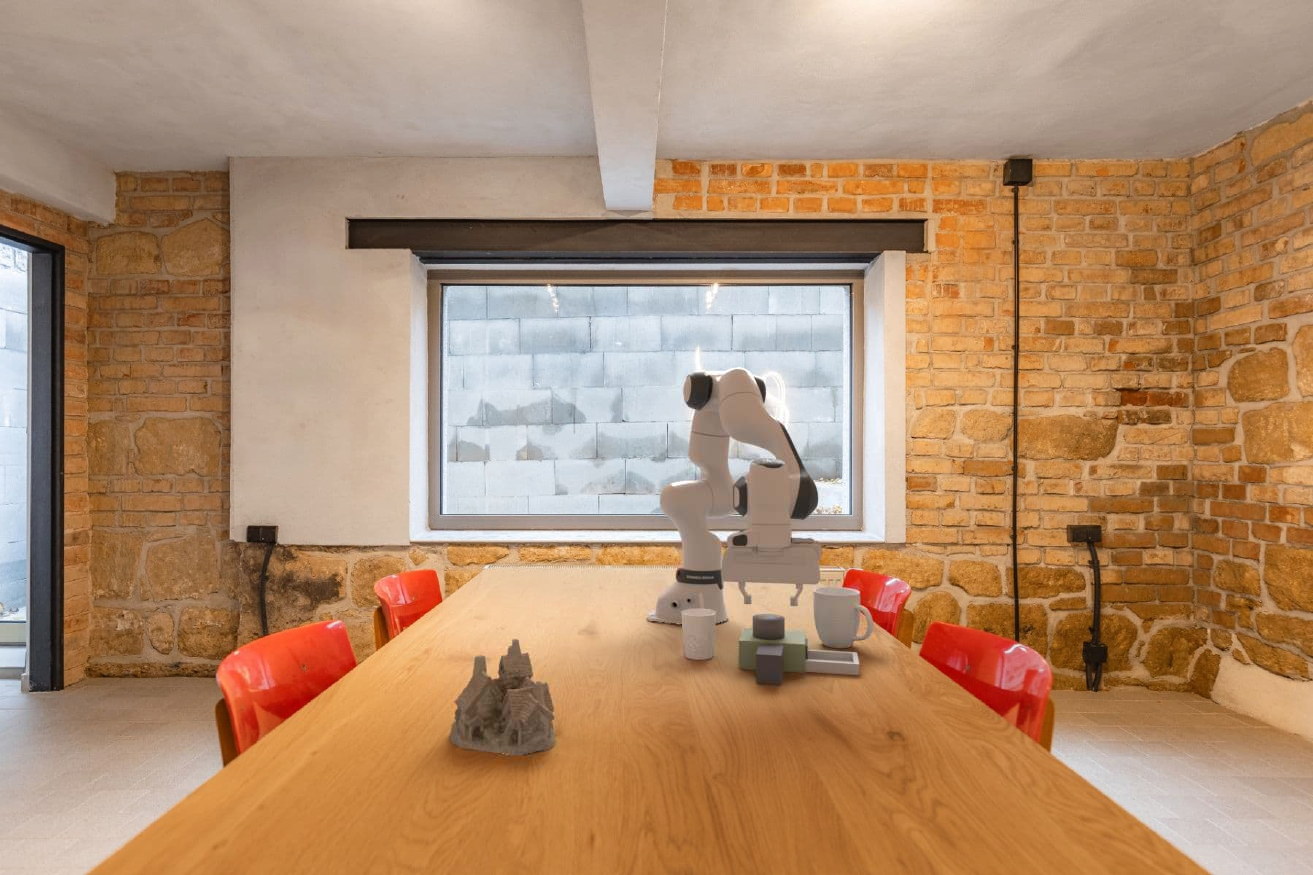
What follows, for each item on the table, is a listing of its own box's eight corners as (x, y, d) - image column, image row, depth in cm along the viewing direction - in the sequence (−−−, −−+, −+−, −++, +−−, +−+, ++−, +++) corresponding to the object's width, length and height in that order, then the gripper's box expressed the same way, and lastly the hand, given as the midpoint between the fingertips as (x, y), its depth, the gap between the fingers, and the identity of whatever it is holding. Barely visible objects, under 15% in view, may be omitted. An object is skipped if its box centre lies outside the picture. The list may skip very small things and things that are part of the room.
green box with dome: (738, 668, 149) (738, 621, 149) (744, 654, 159) (743, 610, 160) (859, 676, 143) (859, 628, 143) (856, 661, 154) (856, 616, 154)
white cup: (716, 651, 162) (716, 608, 162) (715, 661, 154) (715, 616, 154) (682, 650, 163) (682, 607, 163) (680, 660, 155) (680, 615, 155)
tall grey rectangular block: (756, 684, 139) (756, 653, 139) (759, 672, 147) (759, 643, 147) (781, 685, 138) (781, 655, 138) (783, 673, 146) (783, 644, 146)
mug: (884, 648, 164) (883, 593, 165) (860, 657, 157) (859, 599, 157) (829, 636, 175) (829, 584, 176) (804, 644, 168) (804, 590, 168)
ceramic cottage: (446, 726, 117) (451, 638, 116) (543, 717, 122) (547, 633, 122) (454, 771, 102) (460, 670, 102) (563, 758, 108) (569, 663, 108)
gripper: (821, 536, 144) (822, 603, 143) (723, 534, 148) (724, 599, 148) (821, 539, 138) (822, 609, 137) (719, 537, 142) (720, 605, 142)
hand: (770, 604), depth 143 cm, fingers open, 8 cm apart
